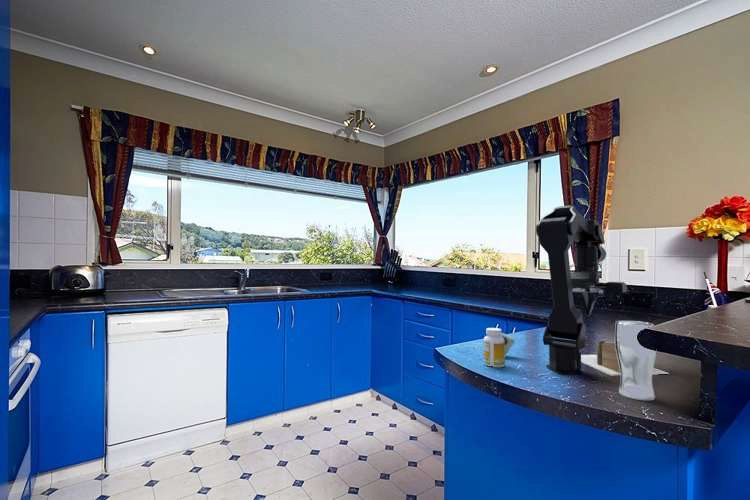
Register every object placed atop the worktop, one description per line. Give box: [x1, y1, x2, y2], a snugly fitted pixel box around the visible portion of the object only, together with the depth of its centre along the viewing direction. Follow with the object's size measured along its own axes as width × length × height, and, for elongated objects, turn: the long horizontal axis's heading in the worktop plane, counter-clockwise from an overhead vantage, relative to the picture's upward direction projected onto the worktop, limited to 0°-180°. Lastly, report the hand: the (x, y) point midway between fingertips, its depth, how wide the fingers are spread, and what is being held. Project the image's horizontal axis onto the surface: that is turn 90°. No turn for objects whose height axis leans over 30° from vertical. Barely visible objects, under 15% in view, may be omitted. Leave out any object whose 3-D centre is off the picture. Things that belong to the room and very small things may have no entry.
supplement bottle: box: [483, 327, 506, 368], centre depth 96 cm, size 5×5×10 cm
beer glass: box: [614, 320, 657, 402], centre depth 74 cm, size 7×7×15 cm
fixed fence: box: [596, 340, 620, 373], centre depth 89 cm, size 2×11×7 cm, turn 3°
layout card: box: [581, 354, 670, 377], centre depth 95 cm, size 14×18×1 cm
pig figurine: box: [501, 332, 516, 356], centre depth 105 cm, size 8×4×7 cm, turn 82°
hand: (588, 315), depth 106 cm, fingers closed
